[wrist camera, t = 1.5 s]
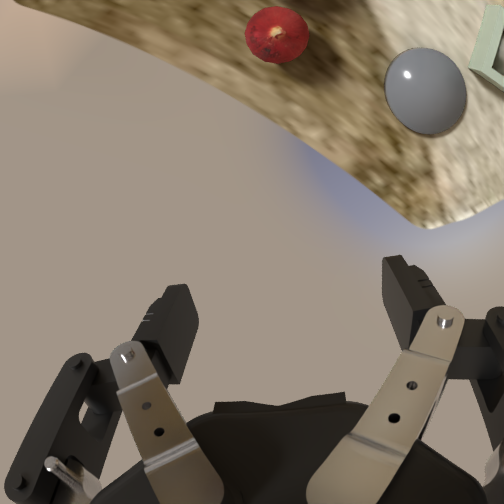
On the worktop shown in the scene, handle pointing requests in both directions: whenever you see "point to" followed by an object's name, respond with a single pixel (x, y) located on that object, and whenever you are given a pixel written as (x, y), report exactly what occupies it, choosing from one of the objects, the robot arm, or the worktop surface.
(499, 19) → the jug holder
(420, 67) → the coaster
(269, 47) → the onion
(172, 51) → the worktop surface
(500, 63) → the jug
